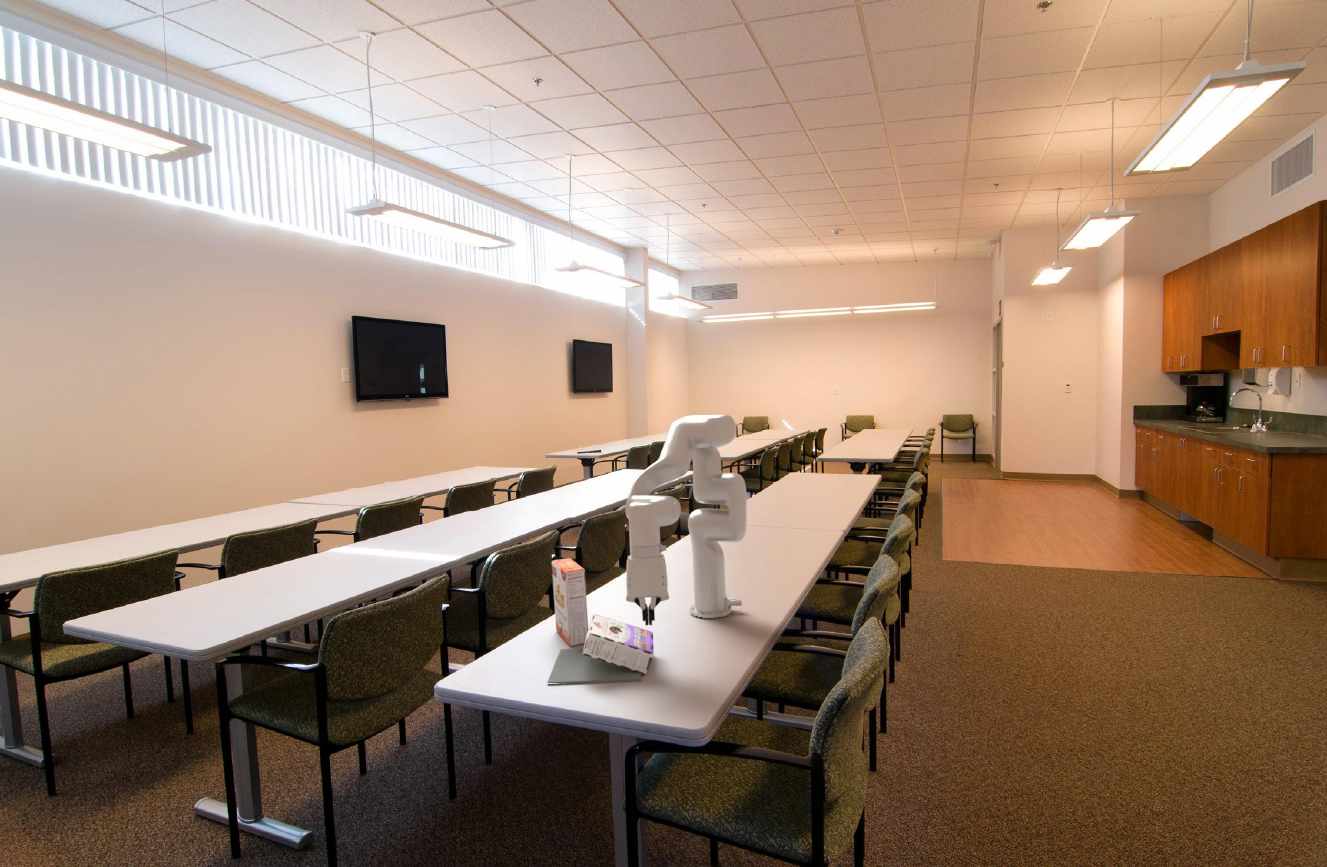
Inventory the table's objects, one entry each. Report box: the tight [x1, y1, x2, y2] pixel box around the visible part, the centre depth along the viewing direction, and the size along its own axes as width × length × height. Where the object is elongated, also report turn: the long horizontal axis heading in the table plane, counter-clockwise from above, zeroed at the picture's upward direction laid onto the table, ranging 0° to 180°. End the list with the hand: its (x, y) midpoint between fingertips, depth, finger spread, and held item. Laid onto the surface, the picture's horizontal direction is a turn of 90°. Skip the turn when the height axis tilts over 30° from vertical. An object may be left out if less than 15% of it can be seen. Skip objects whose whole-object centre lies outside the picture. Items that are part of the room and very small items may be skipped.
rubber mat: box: [546, 647, 642, 684], centre depth 168 cm, size 22×20×1 cm
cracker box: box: [551, 557, 589, 647], centre depth 187 cm, size 14×6×21 cm, turn 24°
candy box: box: [583, 613, 655, 675], centre depth 167 cm, size 14×6×16 cm
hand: (648, 623), depth 167 cm, fingers closed
